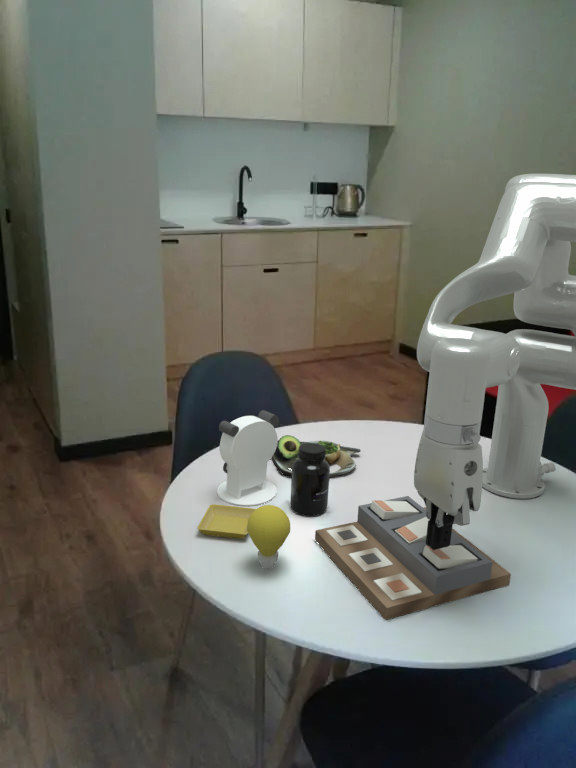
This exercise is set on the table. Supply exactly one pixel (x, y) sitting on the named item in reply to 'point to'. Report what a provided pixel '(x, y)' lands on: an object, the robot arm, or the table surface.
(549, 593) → the table surface
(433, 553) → the rocker
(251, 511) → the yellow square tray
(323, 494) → the supplement bottle
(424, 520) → the rocker
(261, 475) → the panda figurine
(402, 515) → the rocker
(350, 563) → the board
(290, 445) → the salad plate
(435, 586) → the switch housing
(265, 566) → the light bulb
